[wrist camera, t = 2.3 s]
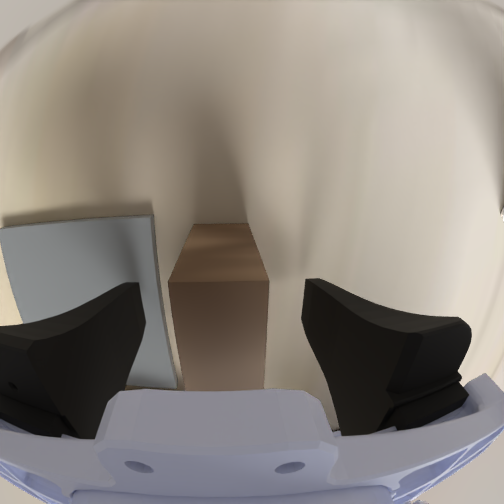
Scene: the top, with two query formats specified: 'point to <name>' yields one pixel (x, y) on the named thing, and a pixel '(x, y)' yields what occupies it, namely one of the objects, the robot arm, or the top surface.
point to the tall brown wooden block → (220, 309)
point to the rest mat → (91, 278)
